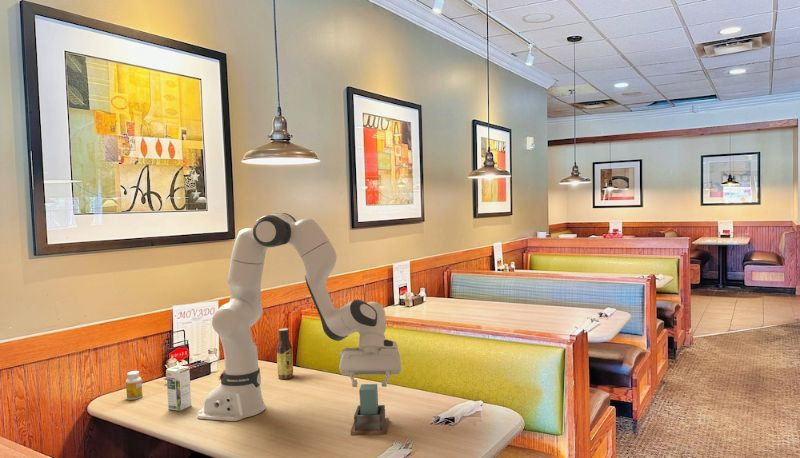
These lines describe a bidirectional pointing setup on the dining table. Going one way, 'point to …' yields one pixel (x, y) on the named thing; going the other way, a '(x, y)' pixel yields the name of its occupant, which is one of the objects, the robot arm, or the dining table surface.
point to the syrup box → (178, 388)
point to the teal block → (369, 399)
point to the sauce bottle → (284, 355)
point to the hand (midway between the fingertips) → (369, 386)
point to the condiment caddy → (370, 423)
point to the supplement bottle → (133, 385)
